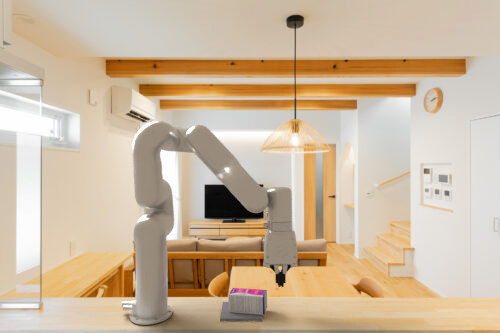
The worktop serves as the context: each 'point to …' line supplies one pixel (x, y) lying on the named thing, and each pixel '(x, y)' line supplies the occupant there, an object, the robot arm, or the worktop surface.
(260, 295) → the supplement box
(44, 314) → the worktop surface
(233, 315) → the felt pad
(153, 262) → the robot arm
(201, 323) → the worktop surface
